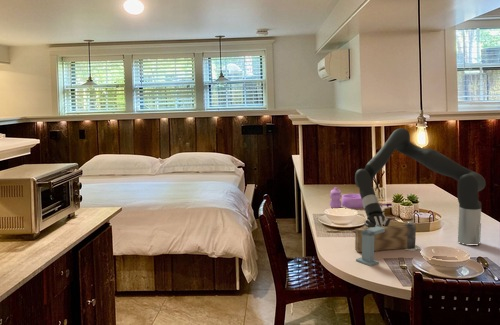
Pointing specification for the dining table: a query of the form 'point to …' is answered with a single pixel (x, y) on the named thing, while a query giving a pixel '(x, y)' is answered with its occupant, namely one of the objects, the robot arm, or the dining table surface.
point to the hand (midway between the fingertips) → (383, 238)
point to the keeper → (369, 245)
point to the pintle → (415, 245)
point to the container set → (345, 200)
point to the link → (389, 237)
